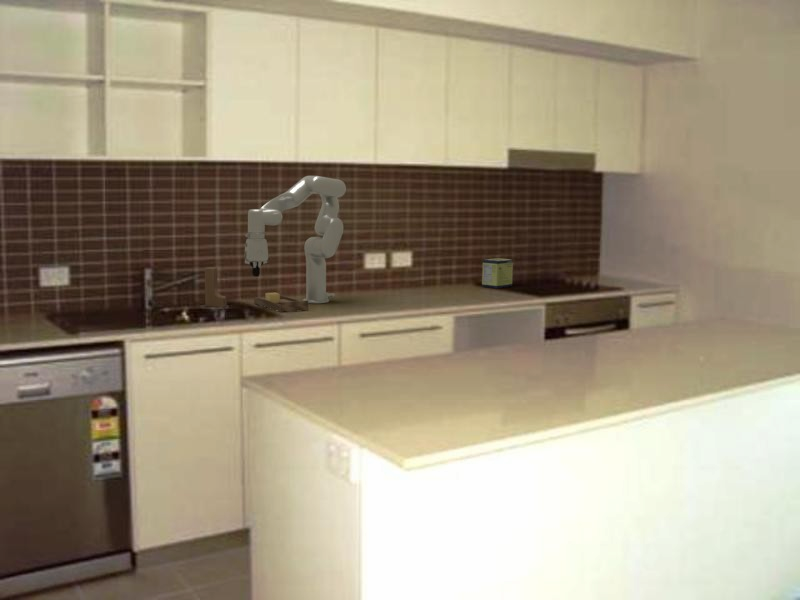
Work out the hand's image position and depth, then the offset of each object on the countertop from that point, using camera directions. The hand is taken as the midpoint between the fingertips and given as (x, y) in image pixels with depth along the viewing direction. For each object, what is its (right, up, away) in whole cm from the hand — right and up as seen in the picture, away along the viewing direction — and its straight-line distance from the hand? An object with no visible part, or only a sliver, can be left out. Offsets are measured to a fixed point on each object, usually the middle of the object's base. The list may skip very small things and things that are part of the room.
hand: (256, 276), depth 405 cm
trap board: (+10, -14, +6) cm, 19 cm away
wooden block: (-19, -14, +5) cm, 24 cm away
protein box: (+121, -4, +94) cm, 154 cm away
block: (+7, -12, +5) cm, 15 cm away
